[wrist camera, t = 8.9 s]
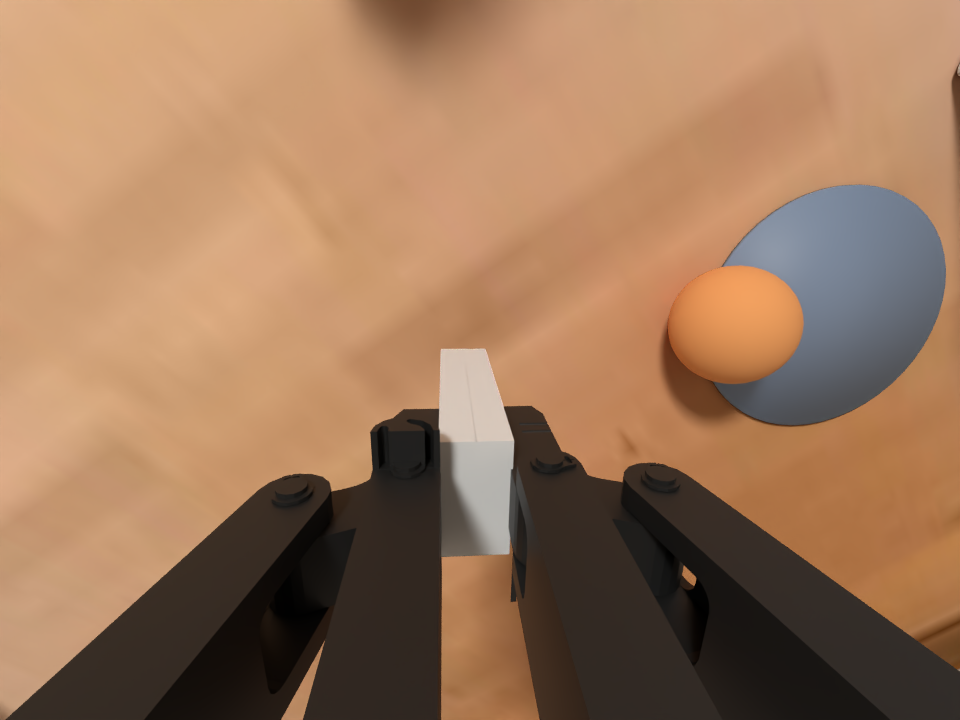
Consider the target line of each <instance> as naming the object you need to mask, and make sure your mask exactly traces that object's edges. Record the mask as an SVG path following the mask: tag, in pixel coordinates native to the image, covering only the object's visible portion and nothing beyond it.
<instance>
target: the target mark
mask: <svg viewBox="0 0 960 720" xmlns="http://www.w3.org/2000/svg"><path fill="white" fill-rule="evenodd" d="M739 265H741V266H750V267H756V268H759V269H762V270H766V271H768V272H770V273H772V274H774V275H776V276H777V277H779V278H780V279H781V280H783V281H784V282H785V283H786V284H787V285H788V286H789V287H790V288H791V289H792V290H793V292H794V293H795V295H796V296H797V298H798V300H799V302H800V305H801V308H802V312H803V319H804V327H803V333H802V337H801V340H800V343H799V345H798V347H797V349H796V351H795V352H794V354H793V355H792V357H791V358H790V359H789V360H788V361H787V362H786V363H785V364H784V365H783V366H782V367H781V368H780V369H778V370H777V371H775V372H774V373H772V374H770V375H768V376H766V377H764V378H761V379H759V380H756V381H752V382H748V383H740V384H725V383H718V382H714V381H713V383H714V385H715V386H716V387H717V389H718V390H719V392H720V393H721V394H722V395H723V396H724V397H725V398H726V399H727V400H728V401H729V402H730V403H731V404H732V405H734V406H735V407H736V408H738V409H739V410H740V411H742V412H743V413H745V414H747V415H749V416H751V417H753V418H756V419H759V420H762V421H765V422H769V423H774V424H780V425H803V424H811V423H816V422H822V421H825V420H828V419H832V418H835V417H838V416H840V415H843V414H845V413H847V412H850V411H852V410H854V409H856V408H857V407H859V406H861V405H863V404H865V403H866V402H868V401H869V400H871V399H872V398H874V397H875V396H877V395H878V394H880V393H881V392H882V391H883V390H885V389H886V388H887V387H888V386H889V385H891V384H892V383H893V382H894V381H895V380H896V379H897V378H898V377H899V376H900V375H901V374H902V373H903V372H904V371H905V370H906V368H907V367H908V366H909V365H910V364H911V362H912V361H913V360H914V359H915V357H916V356H917V354H918V353H919V351H920V350H921V349H922V347H923V346H924V344H925V342H926V340H927V338H928V337H929V335H930V333H931V331H932V329H933V326H934V324H935V322H936V319H937V317H938V314H939V311H940V307H941V304H942V301H943V295H944V289H945V277H946V266H945V257H944V252H943V248H942V244H941V240H940V238H939V236H938V233H937V231H936V229H935V227H934V225H933V224H932V222H931V221H930V219H929V218H928V216H927V215H926V214H925V213H924V212H923V211H922V210H921V209H920V208H919V207H918V206H917V205H916V204H914V203H913V202H912V201H910V200H909V199H907V198H906V197H904V196H902V195H900V194H898V193H896V192H893V191H891V190H888V189H884V188H880V187H876V186H867V185H845V186H836V187H830V188H825V189H821V190H818V191H815V192H812V193H809V194H806V195H803V196H801V197H799V198H797V199H795V200H793V201H791V202H788V203H787V204H785V205H784V206H782V207H780V208H779V209H777V210H775V211H774V212H772V213H771V214H770V215H768V216H767V217H766V218H765V219H763V220H762V221H761V222H759V223H758V224H757V225H756V226H755V227H754V228H753V229H752V230H751V231H750V232H749V233H748V234H747V235H746V236H745V237H744V238H743V239H742V240H741V241H740V242H739V244H738V245H737V246H736V247H735V248H734V250H733V251H732V252H731V254H730V255H729V257H728V258H727V260H726V261H725V263H724V264H723V266H722V267H726V266H739Z"/></svg>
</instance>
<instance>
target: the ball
mask: <svg viewBox="0 0 960 720" xmlns="http://www.w3.org/2000/svg"><path fill="white" fill-rule="evenodd" d="M803 327H804V319H803V312H802V308H801V305H800V302H799V300H798V298H797V296H796V295H795V293H794V292H793V290H792V289H791V288H790V287H789V286H788V285H787V284H786V283H785V282H784V281H783V280H781V279H780V278H779V277H777V276H776V275H774V274H772V273H770V272H768V271H766V270H762V269H759V268H756V267H750V266H741V265H739V266H726V267H721V268H717V269H714V270H711V271H708V272H706V273H704V274H702V275H700V276H698V277H697V278H695V279H694V280H693V281H691V282H690V283H689V284H688V285H687V286H686V287H685V288H684V289H683V290H682V291H681V292H680V293H679V295H678V296H677V298H676V300H675V301H674V303H673V305H672V308H671V311H670V314H669V319H668V335H669V340H670V343H671V346H672V348H673V350H674V352H675V354H676V356H677V357H678V358H679V360H680V361H681V362H682V363H683V364H684V365H685V366H686V367H687V368H688V369H689V370H691V371H692V372H693V373H695V374H697V375H699V376H701V377H703V378H705V379H708V380H711V381H714V382H718V383H725V384H740V383H748V382H752V381H756V380H759V379H761V378H764V377H766V376H768V375H770V374H772V373H774V372H775V371H777V370H778V369H780V368H781V367H782V366H783V365H784V364H785V363H786V362H787V361H788V360H789V359H790V358H791V357H792V355H793V354H794V352H795V351H796V349H797V347H798V345H799V343H800V340H801V337H802V333H803Z"/></svg>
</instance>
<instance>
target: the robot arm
mask: <svg viewBox="0 0 960 720" xmlns="http://www.w3.org/2000/svg"><path fill="white" fill-rule="evenodd" d="M370 434H371V449H372V465H373V471H372V474H371V478H370V480H368V481H366V482H364V483H362V484H360V485H357V486H354V487H350V488H346V489H342V490H337V491H333V492H331V487H330V483H329V481H327V480H326V479H325V478H323V477H321V476H317V475H313V474H293V475H288V476H284V477H282V478H280V479H277V480H275V481H272V482H270V483H268V484H267V485H265V486H264V487H262V488H261V489H259V490H258V491H257V492H256V493H255V494H254V495H253V496H252V497H250V498H249V499H248V500H247V501H246V502H245V503H244V504H243V505H242V506H241V507H239V508H238V509H237V510H236V511H235V512H234V513H233V514H232V515H231V516H229V517H228V518H227V519H226V520H225V521H224V522H223V523H222V524H221V525H220V526H218V527H217V528H216V529H215V530H214V531H213V532H212V533H211V534H210V535H209V536H207V537H206V538H205V539H204V540H203V541H202V542H201V543H200V544H199V545H198V546H196V547H195V548H194V549H193V550H192V551H191V552H190V553H189V554H188V555H187V556H185V557H184V558H183V559H182V560H181V561H180V562H179V563H178V564H177V565H175V566H174V567H173V568H172V569H171V570H170V571H169V572H168V573H167V574H166V575H164V576H163V577H162V578H161V579H160V580H159V581H158V582H157V583H156V584H155V585H153V586H152V587H151V588H150V589H149V590H148V591H147V592H146V593H145V594H144V595H142V596H141V597H140V598H139V599H138V600H137V601H136V602H135V603H134V604H133V605H131V606H130V607H129V608H128V609H127V610H126V611H125V612H124V613H123V614H121V615H120V616H119V617H118V618H117V619H116V620H115V621H114V622H113V623H112V624H110V625H109V626H108V627H107V628H106V629H105V630H104V631H103V632H102V633H101V634H99V635H98V636H97V637H96V638H95V639H94V640H93V641H92V642H91V643H90V644H88V645H87V646H86V647H85V648H84V649H83V650H82V651H81V652H80V653H79V654H77V655H76V656H75V657H74V658H73V659H72V660H71V661H70V662H69V663H67V664H66V665H65V666H64V667H63V668H62V669H61V670H60V671H59V672H58V673H56V674H55V675H54V676H53V677H52V678H51V679H50V680H49V681H48V682H47V683H45V684H44V685H43V686H42V687H41V688H40V689H39V690H38V691H37V692H36V693H34V694H33V695H32V696H31V697H30V698H29V699H28V700H27V701H26V702H25V703H23V704H22V705H21V706H20V707H19V708H18V709H17V710H16V711H15V712H13V713H12V714H11V715H10V716H9V717H8V718H7V719H6V720H281V719H282V717H283V715H284V713H285V711H286V710H287V708H288V706H289V704H290V702H291V701H292V699H293V697H294V695H295V693H296V691H297V690H298V688H299V686H300V684H301V682H302V681H303V679H304V677H305V675H306V673H307V672H308V670H309V668H310V666H311V664H312V662H313V661H314V659H315V657H316V655H317V653H318V652H319V650H320V648H321V646H322V644H323V642H324V641H325V643H324V646H323V650H322V654H321V657H320V661H319V664H318V668H317V671H316V675H315V679H314V682H313V686H312V689H311V693H310V697H309V700H308V704H307V707H306V711H305V714H304V718H303V720H441V610H442V564H441V557H451V556H475V555H499V554H509V549H510V538H511V543H512V548H513V563H512V584H511V602H515V601H516V597H517V601H518V606H519V612H520V617H521V622H522V628H523V633H524V638H525V644H526V649H527V654H528V660H529V665H530V670H531V676H532V681H533V686H534V692H535V697H536V702H537V708H538V713H539V718H540V720H960V671H958V670H957V669H955V668H954V667H953V666H951V665H950V664H948V663H947V662H946V661H944V660H943V659H942V658H940V657H939V656H937V655H936V654H935V653H933V652H932V651H930V650H929V649H928V648H926V647H925V646H924V645H922V644H921V643H919V642H918V641H917V640H915V639H914V638H912V637H911V636H910V635H908V634H907V633H905V632H904V631H903V630H901V629H900V628H899V627H897V626H896V625H894V624H893V623H892V622H890V621H889V620H887V619H886V618H885V617H883V616H882V615H881V614H879V613H878V612H876V611H875V610H874V609H872V608H871V607H869V606H868V605H867V604H865V603H864V602H863V601H861V600H860V599H858V598H857V597H856V596H854V595H853V594H851V593H850V592H849V591H847V590H846V589H844V588H843V587H842V586H840V585H839V584H838V583H836V582H835V581H833V580H832V579H831V578H829V577H828V576H826V575H825V574H824V573H822V572H821V571H820V570H818V569H817V568H815V567H814V566H813V565H811V564H810V563H808V562H807V561H806V560H804V559H803V558H802V557H800V556H799V555H797V554H796V553H795V552H793V551H792V550H790V549H789V548H788V547H786V546H785V545H783V544H782V543H781V542H779V541H778V540H777V539H775V538H774V537H772V536H771V535H770V534H768V533H767V532H765V531H764V530H763V529H761V528H760V527H759V526H757V525H756V524H754V523H753V522H752V521H750V520H749V519H747V518H746V517H745V516H743V515H742V514H741V513H739V512H738V511H736V510H735V509H734V508H732V507H731V506H729V505H728V504H727V503H725V502H724V501H722V500H721V499H720V498H718V497H717V496H716V495H714V494H713V493H711V492H710V491H709V490H707V489H706V488H704V487H703V486H702V485H700V484H699V483H698V482H696V481H695V480H693V479H692V478H691V477H689V476H688V475H686V474H684V473H682V472H681V471H679V470H677V469H674V468H671V467H668V466H666V465H664V464H659V463H658V464H656V463H640V464H635V465H632V466H629V467H628V468H627V469H626V470H625V472H624V476H623V482H618V481H611V480H605V479H600V478H595V477H591V476H589V475H587V473H586V471H585V470H584V468H583V466H582V464H581V463H580V462H579V461H578V460H577V459H576V458H575V457H573V456H572V455H570V454H568V453H566V452H562V451H561V449H560V447H559V445H558V443H557V441H556V439H555V437H554V435H553V433H552V432H551V429H550V427H549V425H548V424H547V421H546V419H545V417H544V415H543V414H542V413H541V412H539V411H538V410H536V409H535V408H533V407H532V406H505V407H503V403H502V400H501V397H500V394H499V391H498V387H497V384H496V381H495V378H494V375H493V371H492V368H491V365H490V362H489V359H488V355H487V352H486V349H441V363H440V399H439V409H404V410H402V411H401V412H400V413H399V414H398V415H396V416H395V417H394V418H392V419H389V420H385V421H383V422H381V423H379V424H377V425H375V426H374V428H373V429H372V430H371V432H370ZM683 566H685V567H686V568H687V569H689V570H690V571H691V572H692V573H693V574H694V575H695V576H696V578H697V579H696V584H695V586H693V585H691V584H690V583H689V582H688V581H687V580H686V579H685V578H684V577H683V576H682V572H683Z"/></svg>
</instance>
